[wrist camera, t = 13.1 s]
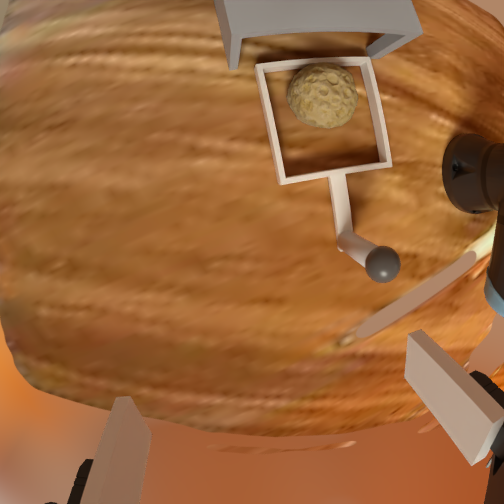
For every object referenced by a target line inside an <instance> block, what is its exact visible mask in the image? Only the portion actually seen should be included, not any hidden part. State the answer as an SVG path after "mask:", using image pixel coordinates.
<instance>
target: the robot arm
mask: <svg viewBox="0 0 504 504" xmlns="http://www.w3.org/2000/svg"><path fill="white" fill-rule="evenodd" d="M442 174H443V182H444V187H445V190H446V193H447V195H448V197H449V199H450V201H451V202H452V204H453V205H454V206H455V207H456V208H458V209H459V210H461V211H463V212H467V213H471V214H479V213H484V212H489V211H493V210H497V211H498V216H497V223H496V230H495V236H494V242H493V247H492V253H491V258H490V262H489V266H488V267H487V272H486V273H487V277H486V282H485V287H484V293H485V298H486V300H487V302H488V304H489V305H490V306H491V307H492V308H493V309H494V310H495V311H496V312H497V313H498V314H499V315H501V316H502V317H504V143H494V142H492V141H490V140H487V139H485V138H484V137H482V136H480V135H477V134H461V135H458V136H457V137H455V138H454V139H453V140H452V141H451V142H450V144H449V145H448V147H447V149H446V152H445V155H444V159H443V167H442ZM404 378H405V379H406V380H407V381H408V383H409V384H410V385H411V386H412V388H413V389H414V390H415V392H416V393H417V394H418V395H419V397H420V398H421V399H422V401H423V402H424V403H425V404H426V406H427V407H428V408H429V410H430V411H431V412H432V414H433V415H434V416H435V418H436V419H437V420H438V421H439V423H440V424H441V425H442V427H443V428H444V429H445V431H446V432H447V433H448V435H449V436H450V437H451V439H452V440H453V441H454V443H455V444H456V446H457V447H458V448H459V449H460V451H461V452H462V453H463V455H464V456H465V458H466V459H467V461H468V462H469V463H470V465H471V466H472V465H474V464H475V463H477V462H478V461H480V460H482V459H483V458H484V457H486V455H487V453H488V451H489V449H491V450H492V451H493V455H492V457H491V458H490V460H489V462H488V463H487V466H486V468H488V467H489V465H490V464H491V468H490V474H489V480H488V486H487V492H486V496H485V501H484V504H504V392H503V391H502V390H501V389H500V388H498V386H497V385H496V384H495V383H493V381H492V380H491V379H490V378H488V377H487V376H486V375H485V374H483V373H481V372H478V371H473V372H472V373H470V374H468V373H467V372H466V371H465V370H464V369H463V368H462V367H461V366H460V365H459V364H458V363H457V362H456V361H455V360H454V359H453V358H451V357H450V356H449V355H448V354H447V353H446V352H445V351H444V350H443V349H442V348H441V347H440V346H439V345H438V344H437V343H435V342H434V341H433V340H432V339H431V338H430V337H429V336H428V335H427V334H426V333H425V332H424V331H422V330H421V329H420V330H418V331H415V332H412V333H410V334H408V342H407V355H406V366H405V376H404ZM151 438H152V433H151V431H150V430H149V428H148V426H147V425H146V423H145V421H144V419H143V418H142V416H141V414H140V413H139V411H138V409H137V407H136V405H135V404H134V402H133V400H132V398H131V396H125V397H116V399H115V402H114V405H113V407H112V410H111V413H110V415H109V418H108V421H107V423H106V426H105V429H104V432H103V435H102V437H101V440H100V443H99V446H98V449H97V452H96V455H95V458H94V459H86V460H85V461H84V462H83V464H82V465H81V466H80V468H79V470H78V473H77V476H76V477H77V478H76V479H75V481H74V486H73V487H72V491H71V494H70V497H69V499H68V503H67V504H140V498H141V491H142V486H143V481H144V475H145V469H146V464H147V459H148V453H149V448H150V443H151ZM45 504H57V503H53V502H49V503H45Z"/></svg>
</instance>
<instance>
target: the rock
mask: <svg viewBox="0 0 504 504" xmlns="http://www.w3.org/2000/svg"><path fill="white" fill-rule="evenodd" d="M355 88H356V87H355V84H354V79H353V78H352V74H351V73H349V72H348V71H347V70H346V69H344V68H342V67H340V66H338V65H335V64H332V63H328V62H318V63H315V64H311V65H308V66H306V67H305V68H304V69H302V70H300V71H299V72H298V73H297V74H296V75H295V76H294V77H293V80H292V82H291V83H290V86H289V88H288V95H287V96H286V98H287V102H288V104H289V106H290V108H291V109H292V111H293V112H294V113H295V115H296V117H297V119H299V120H300V121H302V122H303V123H305V124H308V125H311V126H315V127H321V128H333V127H337V126H342V125H343V124H345V123H346V122H347V121H348V120H349V119H351V117H352V115H353V113H354V110H355V107H356V106H357V101H358V94H357V91H356V89H355Z"/></svg>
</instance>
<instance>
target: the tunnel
mask: <svg viewBox="0 0 504 504" xmlns="http://www.w3.org/2000/svg"><path fill="white" fill-rule="evenodd" d="M214 4H215V8H216V12H217V17H218V21H219V26H220V30H221V35H222V39H223V44H224V48H225V53H226V58H227V62H228V67H229V70H235V69H238V62H239V55H240V49H241V42H242V38H248V37H256V36H264V35H274V34H285V33H300V32H329V31H345V32H373V33H386V34H385V35H383V36H382V37H380V38H379V39H378V40H376V41H375V42H373V43H372V44H371V45H369V46H368V47H367V48H366V50H367V54H368V57H370V59H380V58H381V57H383V56H385V55H386V54H388V53H390V52H392V51H393V50H395V49H397V48H398V47H400V46H402V45H404V44H405V43H407V42H409V41H411V40H413V39H414V38H416V37H418V36H420V35H422V34H423V31H422V28H421V25H420V22H419V19H418V17H417V14H416V11H415V9H414V6H413V4H412V1H411V0H214Z"/></svg>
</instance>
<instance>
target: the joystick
mask: <svg viewBox="0 0 504 504" xmlns="http://www.w3.org/2000/svg"><path fill="white" fill-rule="evenodd" d="M318 62H328V63H332V64H335V65H338V66H360V68H361V72H362V76H363V80H364V84H365V88H366V92H367V97H368V101H369V106H370V110H371V115H372V120H373V125H374V131H375V136H376V142H377V148H378V154H379V160H380V162H376V163H369V164H362V165H355V166H348V167H342V168H335V169H329V170H323V171H317V172H311V173H305V174H300V175H294V176H289V177H285V172H284V167H283V161H282V156H281V151H280V146H279V141H278V136H277V131H276V127H275V122H274V117H273V112H272V108H271V103H270V99H269V94H268V90H267V85H266V81H265V76H264V73H267V72H275V71H283V70H293V69H303V68H305V67H306V66H308V65H311V64H315V63H318ZM254 71H255V76H256V80H257V84H258V89H259V93H260V98H261V103H262V107H263V112H264V117H265V121H266V126H267V131H268V136H269V141H270V146H271V150H272V155H273V161H274V166H275V171H276V176H277V181H278V184H279V185H284V184H289V183H295V182H300V181H306V180H311V179H317V178H323V177H328V182H329V188H330V194H331V201H332V207H333V214H334V221H335V229H336V236H337V244H338V250H339V251H344V252H345V253H347V254H348V255H349V256H351V257H352V258H353V259H354V260H356V261H357V262H358V263H360V264H361V265H362V266H364V267H365V269H366V272H367V274H368V276H369V277H370V278H371V279H372V280H374V281H376V282H378V283H387V282H390V281H392V280H393V279H394V278H395V277H396V276H397V275H398V273H399V271H400V266H401V263H400V258H399V256H398V254H397V253H396V251H395V250H393V249H392V248H390V247H387V246H377V245H375V244H373V243H371V242H370V241H368V240H366V239H364V238H363V237H361V236H359V235H357V234H355V233H354V232H353V227H352V219H351V211H350V203H349V196H348V189H347V183H346V176H345V174H347V173H354V172H360V171H367V170H373V169H380V168H388V167H392V160H391V154H390V147H389V141H388V136H387V130H386V125H385V120H384V115H383V110H382V105H381V100H380V96H379V92H378V87H377V83H376V79H375V75H374V71H373V67H372V64H371V60H370V57H327V58H310V59H297V60H286V61H277V62H269V63H261V64H256V65H255V68H254Z"/></svg>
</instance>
